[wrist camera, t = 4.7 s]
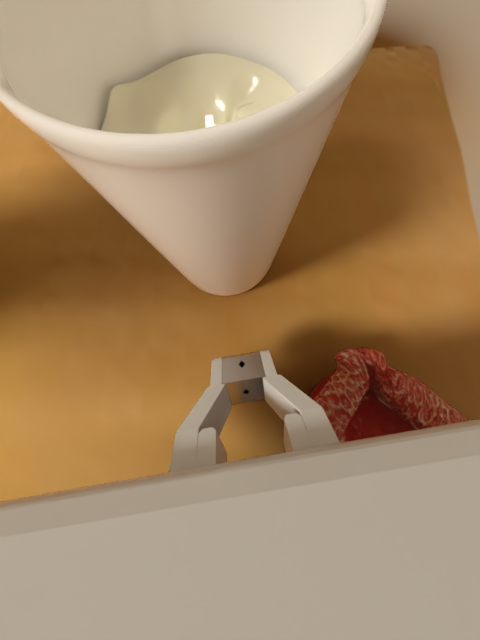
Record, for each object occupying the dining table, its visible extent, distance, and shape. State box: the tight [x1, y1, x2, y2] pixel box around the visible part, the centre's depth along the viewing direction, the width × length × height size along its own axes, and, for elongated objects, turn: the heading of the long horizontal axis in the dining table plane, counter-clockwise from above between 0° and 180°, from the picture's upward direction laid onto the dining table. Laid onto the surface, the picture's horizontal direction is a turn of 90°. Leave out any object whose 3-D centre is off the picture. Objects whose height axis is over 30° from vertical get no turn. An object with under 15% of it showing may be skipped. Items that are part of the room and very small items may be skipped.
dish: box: [285, 347, 469, 452], centre depth 9 cm, size 16×31×5 cm, turn 4°
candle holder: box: [0, 0, 387, 296], centre depth 10 cm, size 10×10×12 cm
